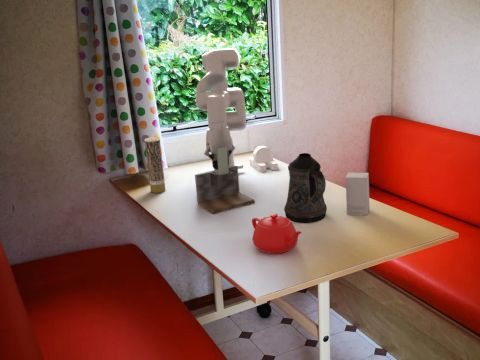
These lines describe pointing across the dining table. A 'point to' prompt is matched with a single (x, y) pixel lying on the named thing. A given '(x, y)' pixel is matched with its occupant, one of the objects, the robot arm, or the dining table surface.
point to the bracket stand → (220, 191)
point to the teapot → (274, 234)
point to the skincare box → (357, 193)
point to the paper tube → (155, 164)
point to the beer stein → (305, 191)
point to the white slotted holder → (263, 159)
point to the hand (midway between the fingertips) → (221, 167)
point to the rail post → (222, 161)
